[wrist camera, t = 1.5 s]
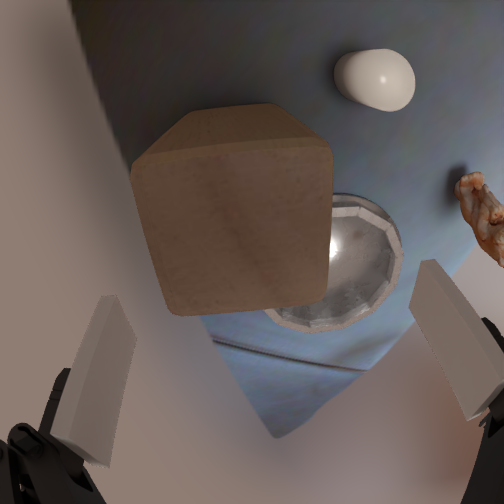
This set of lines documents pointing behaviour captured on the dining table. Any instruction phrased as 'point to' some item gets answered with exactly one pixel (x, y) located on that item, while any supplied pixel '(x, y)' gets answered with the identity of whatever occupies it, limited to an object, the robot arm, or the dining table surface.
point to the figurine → (482, 214)
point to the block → (237, 210)
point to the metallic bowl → (351, 268)
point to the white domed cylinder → (375, 78)
